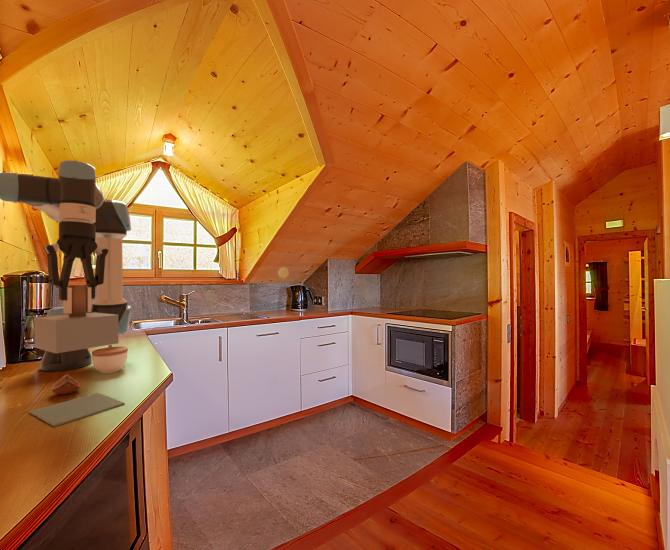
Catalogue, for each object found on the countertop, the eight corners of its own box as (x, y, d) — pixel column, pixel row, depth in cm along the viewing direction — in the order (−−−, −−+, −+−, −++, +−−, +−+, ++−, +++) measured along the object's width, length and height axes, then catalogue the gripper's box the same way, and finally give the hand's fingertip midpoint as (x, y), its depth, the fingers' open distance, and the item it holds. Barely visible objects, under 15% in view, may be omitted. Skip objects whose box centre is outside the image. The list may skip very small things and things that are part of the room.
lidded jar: (109, 376, 110) (109, 349, 110) (83, 374, 112) (83, 347, 112) (134, 367, 121) (134, 342, 121) (110, 366, 123) (110, 341, 123)
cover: (94, 338, 92) (94, 284, 93) (118, 343, 86) (118, 284, 86) (34, 347, 81) (34, 285, 81) (56, 353, 74) (56, 286, 74)
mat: (97, 394, 94) (97, 392, 94) (124, 404, 86) (124, 402, 86) (29, 412, 81) (29, 411, 81) (53, 427, 73) (53, 425, 73)
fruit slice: (81, 395, 93) (81, 377, 93) (50, 400, 89) (50, 382, 89) (79, 387, 99) (79, 371, 99) (50, 392, 95) (50, 375, 95)
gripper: (42, 215, 75) (41, 316, 74) (119, 225, 89) (119, 310, 89) (30, 219, 78) (29, 315, 78) (106, 228, 93) (106, 309, 92)
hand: (77, 312), depth 83 cm, fingers closed on cover, 4 cm apart
